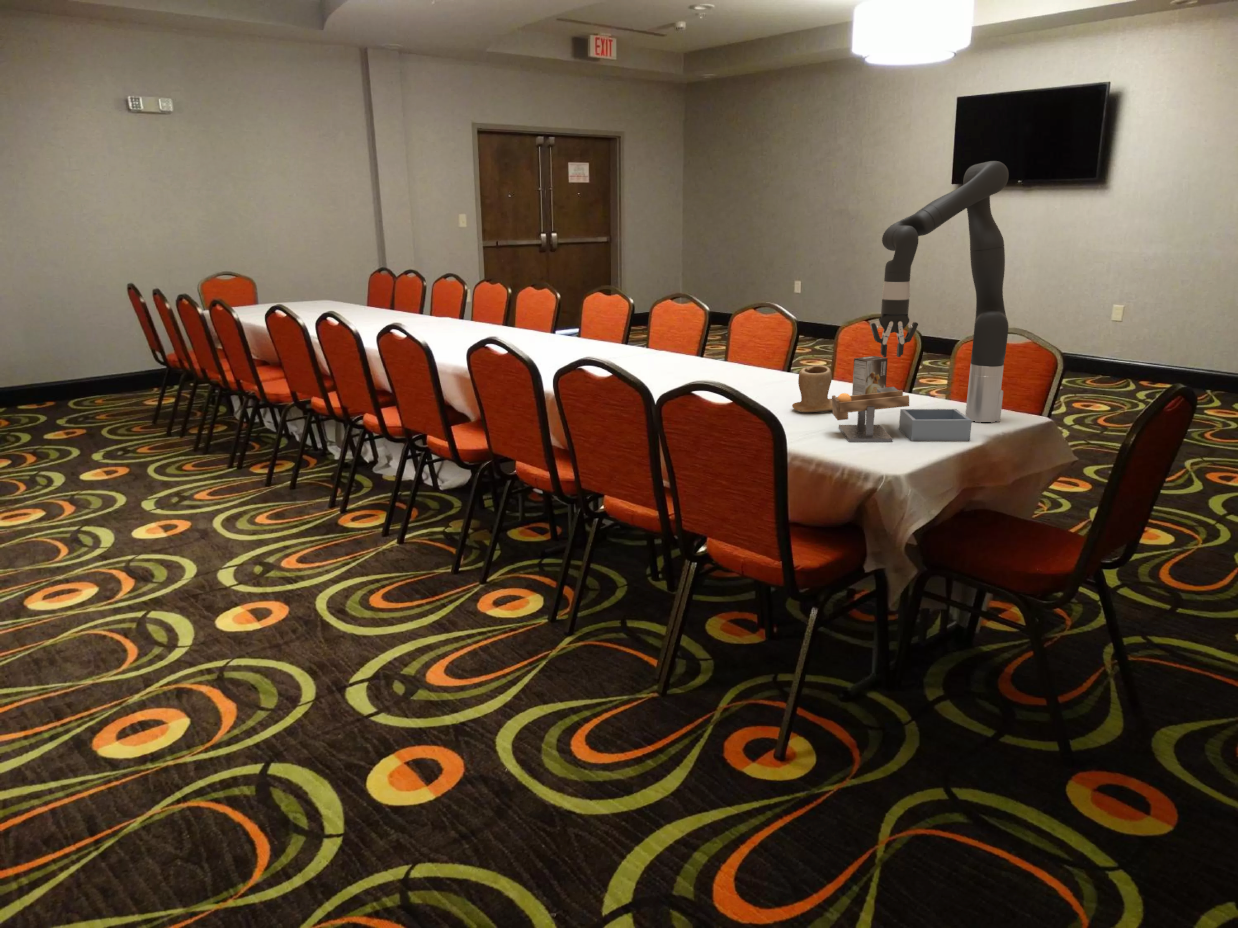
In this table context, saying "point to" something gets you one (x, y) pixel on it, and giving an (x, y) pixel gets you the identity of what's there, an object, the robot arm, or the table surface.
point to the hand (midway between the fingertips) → (891, 356)
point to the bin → (935, 425)
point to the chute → (870, 402)
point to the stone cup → (814, 389)
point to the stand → (865, 429)
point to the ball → (844, 397)
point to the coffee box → (869, 374)
